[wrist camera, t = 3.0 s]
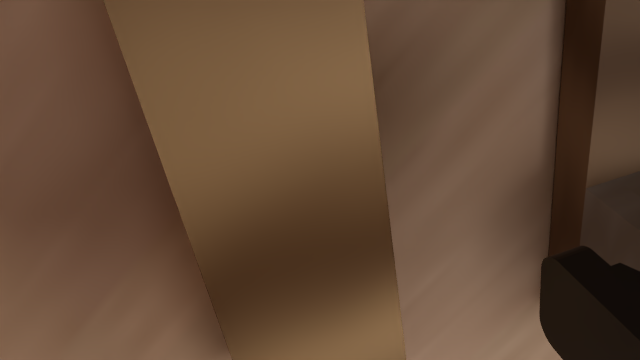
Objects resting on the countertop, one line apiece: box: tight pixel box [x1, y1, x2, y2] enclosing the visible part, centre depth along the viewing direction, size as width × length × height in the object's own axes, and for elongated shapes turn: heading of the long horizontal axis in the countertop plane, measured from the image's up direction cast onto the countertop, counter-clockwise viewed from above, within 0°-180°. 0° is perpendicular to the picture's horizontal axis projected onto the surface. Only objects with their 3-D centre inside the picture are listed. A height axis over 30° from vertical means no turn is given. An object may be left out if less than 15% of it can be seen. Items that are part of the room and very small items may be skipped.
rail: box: [103, 0, 406, 360], centre depth 14 cm, size 13×4×4 cm, turn 9°
